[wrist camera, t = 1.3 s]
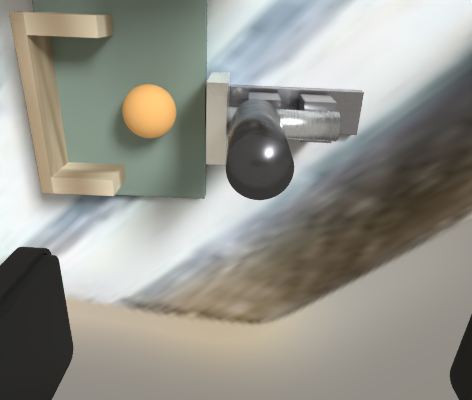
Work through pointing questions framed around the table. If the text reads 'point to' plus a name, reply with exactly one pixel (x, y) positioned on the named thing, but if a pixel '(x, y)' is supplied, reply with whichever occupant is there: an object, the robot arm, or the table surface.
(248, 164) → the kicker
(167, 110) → the ball
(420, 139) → the table surface
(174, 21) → the mat
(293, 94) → the track
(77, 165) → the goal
